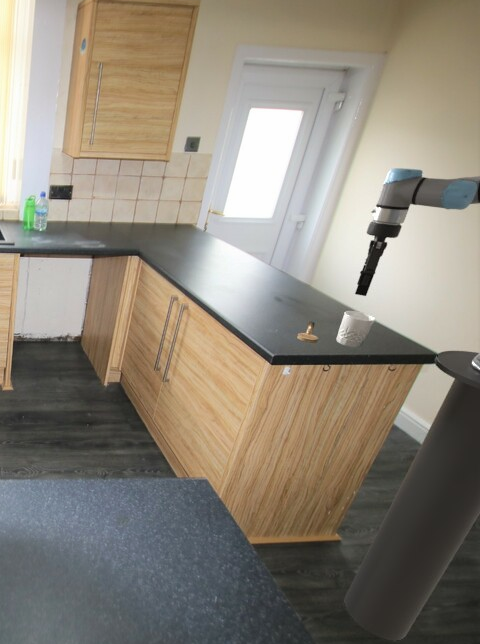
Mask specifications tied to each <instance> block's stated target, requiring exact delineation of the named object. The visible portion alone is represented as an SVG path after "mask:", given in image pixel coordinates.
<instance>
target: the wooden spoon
mask: <svg viewBox="0 0 480 644" xmlns="http://www.w3.org/2000/svg"><path fill="white" fill-rule="evenodd" d="M307 325H308V326H307V328H306V332H299V333H298V334H297V336H296V337H297V339H298V340H300V341H302V342H305V343H310V344H316V343H318V340H319V337H318V336H316V335H314V334H313V331H314V327H315V322H314V321H309V322H308V324H307Z"/></svg>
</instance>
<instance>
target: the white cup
mask: <svg viewBox="0 0 480 644" xmlns="http://www.w3.org/2000/svg"><path fill="white" fill-rule="evenodd" d="M375 322H376V317H374V316H373V315H371V314H369V313H367V312H362V311H356V310H346V311H344V314H343V317H342V319H341V323H340V325H339V329H338V332H337V336H336V338H335V340H336V343H338V344H340V345H343V346H345V347H349V348H355V349H356V348H360V347H362V345H363V343H364V341H365V340H366V338H367V336H368V334H369V332H370V331H371V329H372V327H373V325H374V323H375Z"/></svg>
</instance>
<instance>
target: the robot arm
mask: <svg viewBox="0 0 480 644" xmlns="http://www.w3.org/2000/svg"><path fill="white" fill-rule="evenodd" d="M473 204H474V205H478V204H480V175H478V176H466V177H458V178H433V177H431V178H430V177H425V176H423V170H422V169H418V168H417V169H415V168H401V167H397V168H391V169H390V170H389V171H388V172H387V175H386V178H385V180H384V182H383V184H382V188H381V191H380V193H379V197H378V200H377V203H376V205H375V209H372V210H371V211H370V213H372V216H371V221H370V222H369V224H368V226H367V229H366V234H367V235H369V236H372V237H373V238H374V239H373V240H372V239H371V240H370V242H369V245H368V249H367V251H368V252H367V256H366V258H365V261H364V264H363V267H362V270H360V271H359V274H360V275H359V278H358V279H357V283H356V285H357V287H356V289H355V292H354V295H357V296H363V297H366V296H367V294H368V292H369V289H370V286H371V284H372V281H373V278H374V276H375V275H376V272H377V271H376V270H377V268H378V265H379V262H380V259H381V257H382V256H383V255H384V252H385V250H386V249H387V246H388V242H387V241H386V239H396V238H398V237H399V235H400V233H401V230H402V227H403V226H402V224H403V223H405V220H406V218H407V215H408V212H409V209H410V206H411V205H413V206H422V207H423V206H424V207H431V208H439V209H445V210H458V211H459V210H461V211H462V210H466V209H467V208H468V207H469V206H470V205H473ZM478 353H479V354H478V355H477V356H476V357H475V358H474V359H473V360H472V362H471V367H472V368H474V369H475V370H477V371H478V372H480V352H478Z"/></svg>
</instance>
